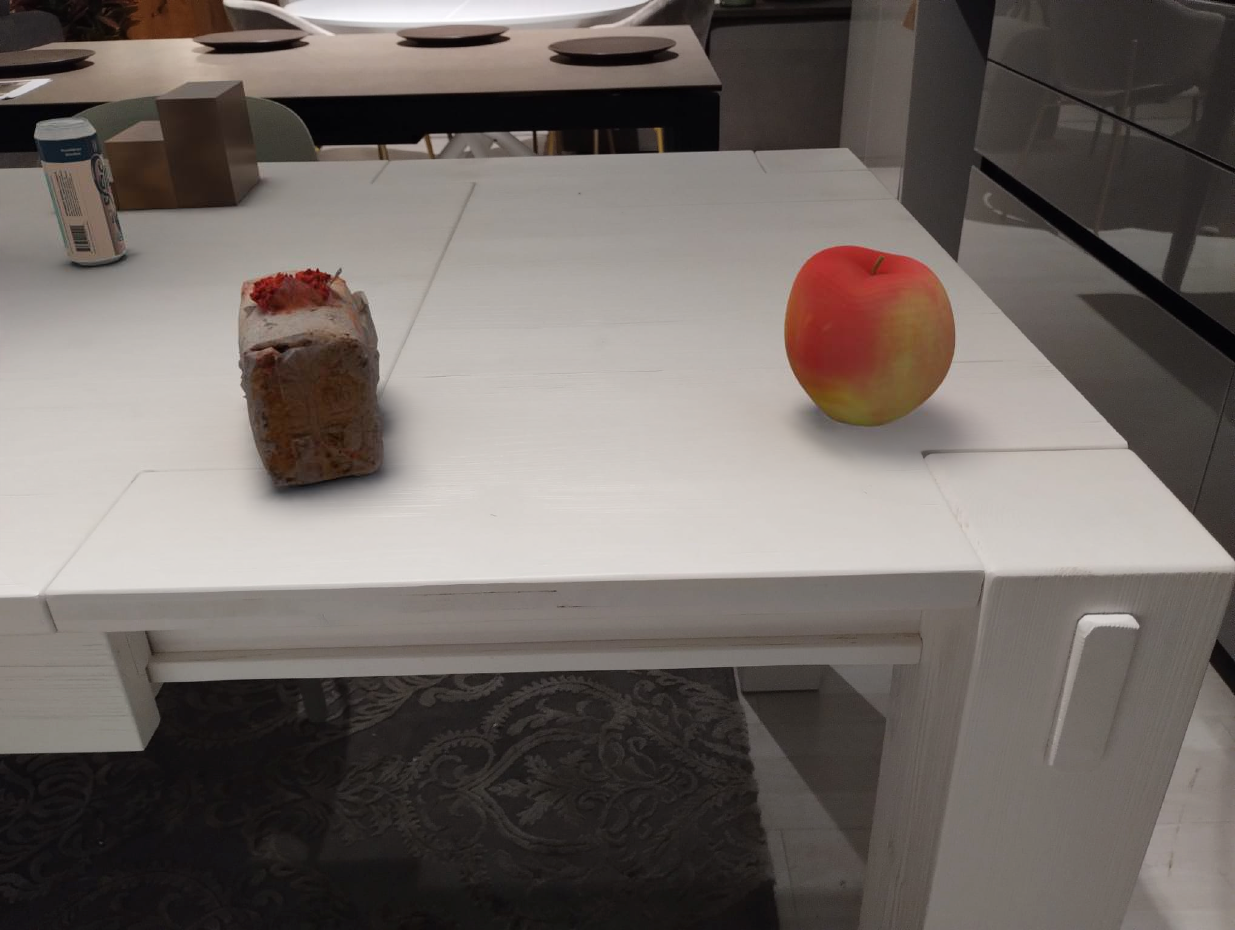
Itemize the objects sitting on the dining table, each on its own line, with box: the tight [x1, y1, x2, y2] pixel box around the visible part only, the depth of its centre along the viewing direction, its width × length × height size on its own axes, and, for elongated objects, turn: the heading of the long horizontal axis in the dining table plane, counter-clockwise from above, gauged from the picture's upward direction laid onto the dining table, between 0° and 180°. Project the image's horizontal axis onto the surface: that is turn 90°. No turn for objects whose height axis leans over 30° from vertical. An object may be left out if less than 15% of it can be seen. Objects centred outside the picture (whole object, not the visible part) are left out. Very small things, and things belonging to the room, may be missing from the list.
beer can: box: [33, 117, 127, 266], centre depth 89 cm, size 5×5×12 cm
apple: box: [783, 244, 957, 428], centre depth 59 cm, size 10×10×10 cm
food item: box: [237, 267, 384, 487], centre depth 58 cm, size 14×8×10 cm, turn 20°
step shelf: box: [103, 79, 261, 211], centre depth 110 cm, size 18×12×11 cm, turn 95°
